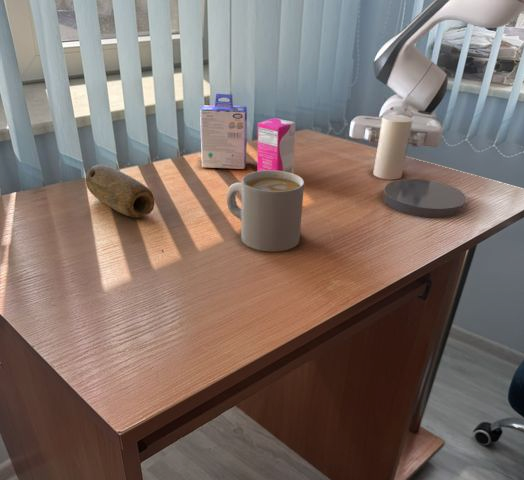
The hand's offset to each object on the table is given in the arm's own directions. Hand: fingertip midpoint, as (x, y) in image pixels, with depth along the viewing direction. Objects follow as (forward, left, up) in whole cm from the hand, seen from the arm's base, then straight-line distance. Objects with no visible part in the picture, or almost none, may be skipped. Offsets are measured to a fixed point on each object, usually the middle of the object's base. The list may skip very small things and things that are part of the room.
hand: (393, 140), depth 112 cm
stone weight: (+59, +9, -8) cm, 60 cm away
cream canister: (0, 0, -8) cm, 8 cm away
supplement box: (+26, -2, -8) cm, 27 cm away
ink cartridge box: (+35, -12, -8) cm, 38 cm away
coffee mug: (+36, +25, -8) cm, 44 cm away
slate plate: (0, +16, -8) cm, 17 cm away
